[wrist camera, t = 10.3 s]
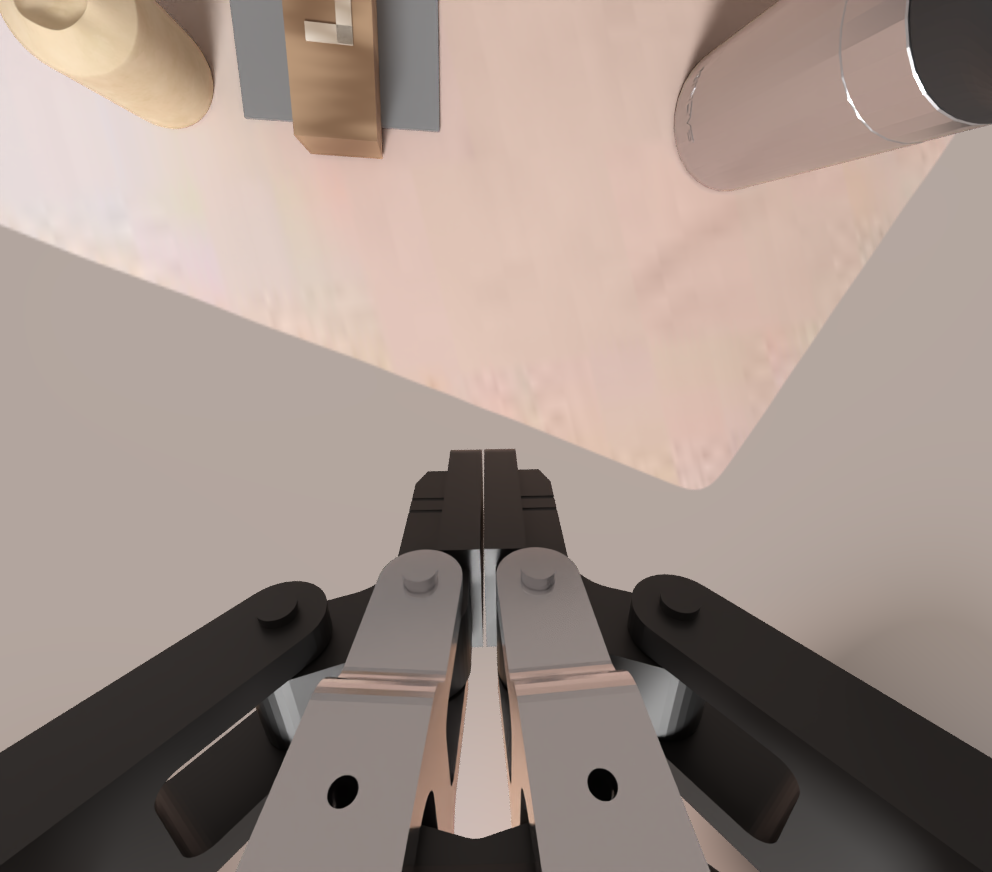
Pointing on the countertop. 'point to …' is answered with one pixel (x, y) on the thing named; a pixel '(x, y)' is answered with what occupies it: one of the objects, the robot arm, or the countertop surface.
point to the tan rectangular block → (334, 76)
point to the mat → (402, 62)
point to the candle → (119, 54)
